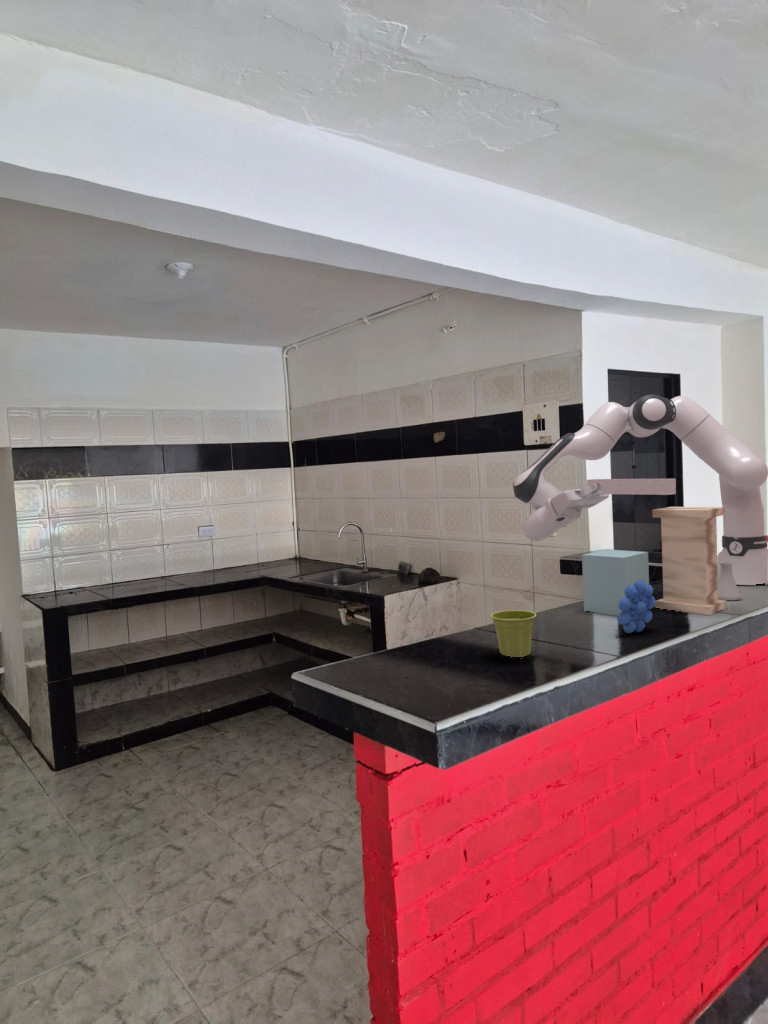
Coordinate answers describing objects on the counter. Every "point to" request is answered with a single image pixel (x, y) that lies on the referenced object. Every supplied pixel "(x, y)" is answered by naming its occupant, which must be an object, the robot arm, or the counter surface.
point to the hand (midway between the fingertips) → (602, 484)
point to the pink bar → (634, 486)
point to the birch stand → (690, 559)
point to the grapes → (636, 606)
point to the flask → (727, 583)
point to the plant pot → (514, 631)
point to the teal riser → (611, 578)
